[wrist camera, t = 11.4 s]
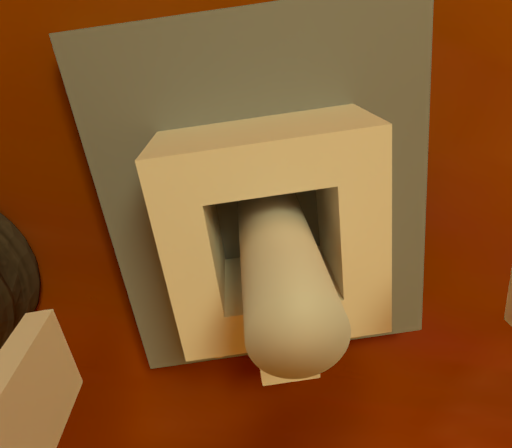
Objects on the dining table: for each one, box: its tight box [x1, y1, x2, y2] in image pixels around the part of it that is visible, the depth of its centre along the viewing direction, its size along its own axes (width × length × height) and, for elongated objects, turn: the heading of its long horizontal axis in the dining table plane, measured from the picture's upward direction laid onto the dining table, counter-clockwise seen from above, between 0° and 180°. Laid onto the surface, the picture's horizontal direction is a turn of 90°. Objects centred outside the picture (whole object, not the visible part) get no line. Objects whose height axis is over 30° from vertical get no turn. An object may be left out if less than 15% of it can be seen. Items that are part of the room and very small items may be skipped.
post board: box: [49, 0, 434, 379], centre depth 17 cm, size 18×16×12 cm
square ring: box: [135, 104, 392, 386], centre depth 19 cm, size 13×9×5 cm
